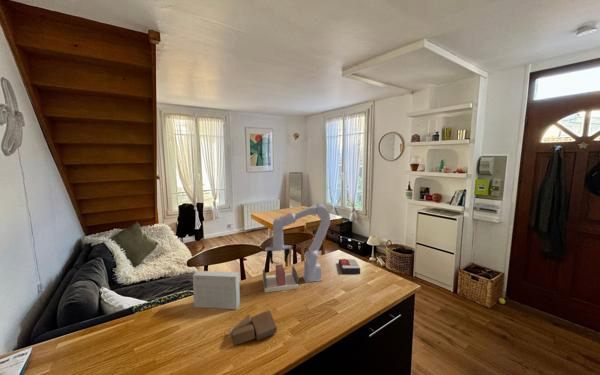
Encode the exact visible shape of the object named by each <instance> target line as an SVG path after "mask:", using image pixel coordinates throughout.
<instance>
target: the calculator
mask: <svg viewBox="0 0 600 375" xmlns="http://www.w3.org/2000/svg"><path fill="white" fill-rule="evenodd" d="M338 265H339V268H340V271H341V274H342V275H361V267H360V265H359V263H358V262H357V260H356V259H354V258H347V259H346V258H339V259H338Z"/></svg>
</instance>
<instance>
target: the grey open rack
mask: <svg viewBox="0 0 600 375" xmlns="http://www.w3.org/2000/svg"><path fill="white" fill-rule="evenodd" d="M262 281H263V282H262V283H263V289H264V293H271V292H281V291H288V290H297V289H300V288H299V274H298V272H297V271H296V268H295V266H292V267H291V272H290V273H285V285H282V286H278V284H277V280H276V274H272V275H270V274H269V275H266V271H265V269H262Z"/></svg>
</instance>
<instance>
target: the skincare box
mask: <svg viewBox="0 0 600 375" xmlns="http://www.w3.org/2000/svg"><path fill="white" fill-rule="evenodd" d="M192 283H193V284H192V285H193V286H192V289H193V290H192V292H193V308H203V309H206V308H207V309H219V310H220V309H221V310H222V309H223V310H224V309H225V310H226V309H227V310H237V309H238V308H239V307H240V306H241V305H240V304H241V293H240V292H241V291H240V272H238V271H237V272H235V271H234V272H233V271H211V270H210V271H209V270H197V271H195V273H194V274H192Z"/></svg>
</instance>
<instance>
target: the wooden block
mask: <svg viewBox="0 0 600 375" xmlns="http://www.w3.org/2000/svg"><path fill="white" fill-rule="evenodd" d="M277 332H278V331H277V324H276V322H275V320H274V317H273V315H272V311H271V310H270V309H268V310H266V311H264V312H261V313H259V314H257V315H254V316H252V317H250V314H247V315H246V316H245V317H244V318H243V319H242V320H241V321H240V322H239V323H237V325H235V326H234V327H232V328H229V335H230V336H231V338H232V343H233V346H237V345H240V344H243V343H245V342H248V341H252V340H254V339H256V341H257V342H258V341H261V340H263V339H266V338H267V337H269V336H273V335H274V334H277Z"/></svg>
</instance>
